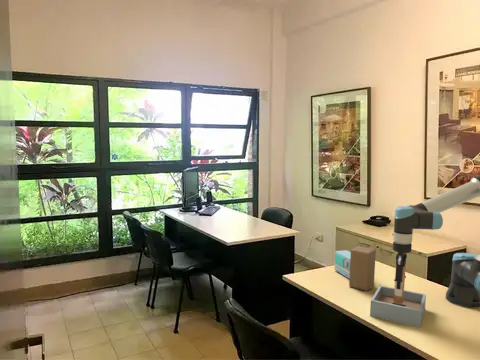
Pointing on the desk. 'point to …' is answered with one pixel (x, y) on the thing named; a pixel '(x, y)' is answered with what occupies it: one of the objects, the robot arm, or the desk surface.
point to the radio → (343, 262)
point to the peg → (400, 298)
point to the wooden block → (362, 268)
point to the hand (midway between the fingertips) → (399, 293)
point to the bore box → (398, 306)
